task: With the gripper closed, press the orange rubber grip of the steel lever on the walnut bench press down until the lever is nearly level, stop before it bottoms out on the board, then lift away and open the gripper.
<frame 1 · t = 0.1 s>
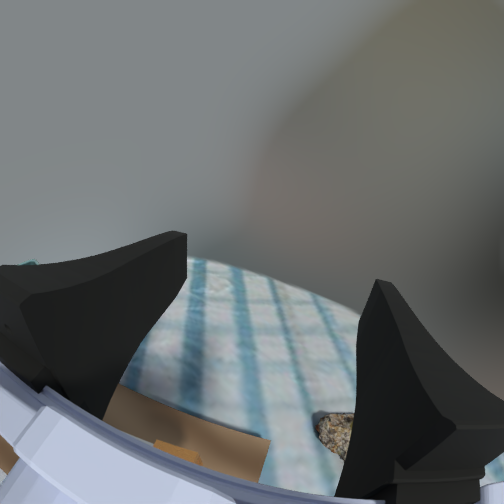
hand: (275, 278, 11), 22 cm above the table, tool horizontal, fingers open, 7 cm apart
mineral rock: (358, 444, 26), on the table
press lever: (88, 433, 17), point 6 cm above the table, hinge at 12.0°
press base: (119, 470, 19), on the table
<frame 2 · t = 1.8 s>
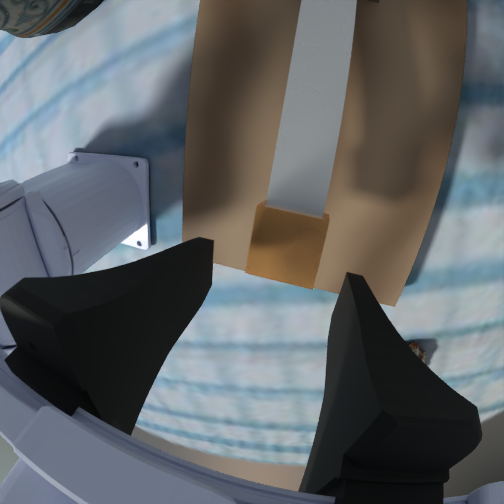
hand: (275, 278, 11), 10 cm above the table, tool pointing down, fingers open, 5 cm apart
press lever: (318, 82, 11), point 6 cm above the table, hinge at 12.0°
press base: (321, 110, 17), on the table
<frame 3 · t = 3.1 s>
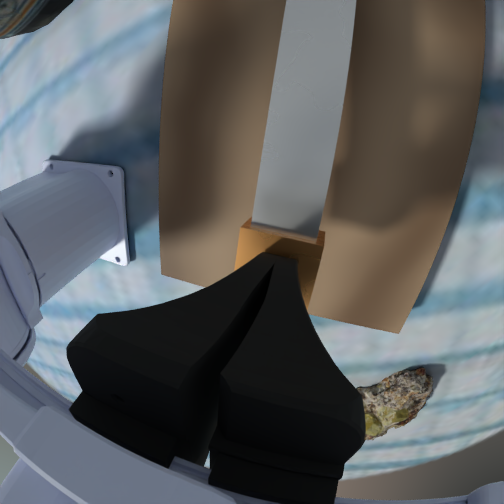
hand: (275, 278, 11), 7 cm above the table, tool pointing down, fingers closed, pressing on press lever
mineral rock: (387, 396, 23), on the table
press lever: (311, 77, 9), point 6 cm above the table, hinge at 7.4°, touching gripper
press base: (316, 109, 14), on the table
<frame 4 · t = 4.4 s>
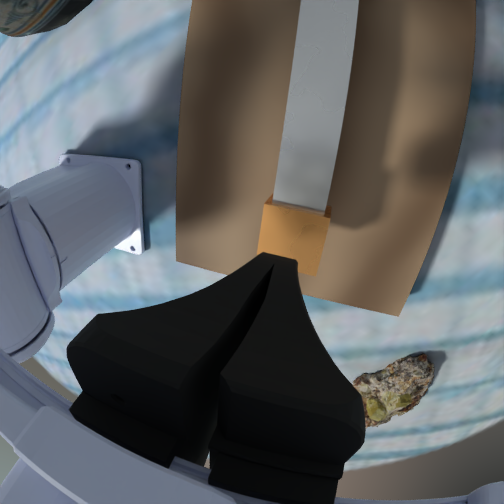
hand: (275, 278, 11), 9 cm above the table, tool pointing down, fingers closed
mineral rock: (391, 383, 25), on the table
press lever: (320, 83, 11), point 5 cm above the table, hinge at 1.8°
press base: (322, 108, 16), on the table
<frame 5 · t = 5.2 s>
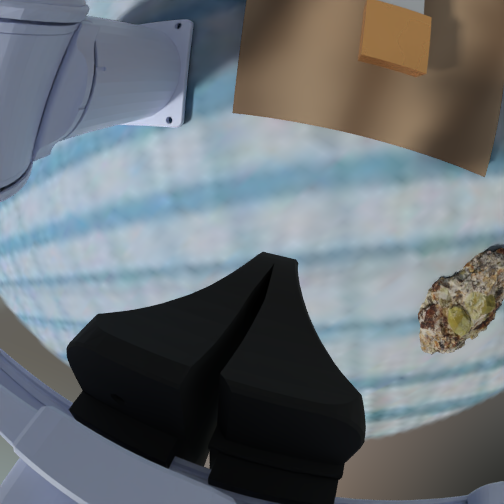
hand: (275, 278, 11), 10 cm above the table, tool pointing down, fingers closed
mineral rock: (465, 295, 20), on the table
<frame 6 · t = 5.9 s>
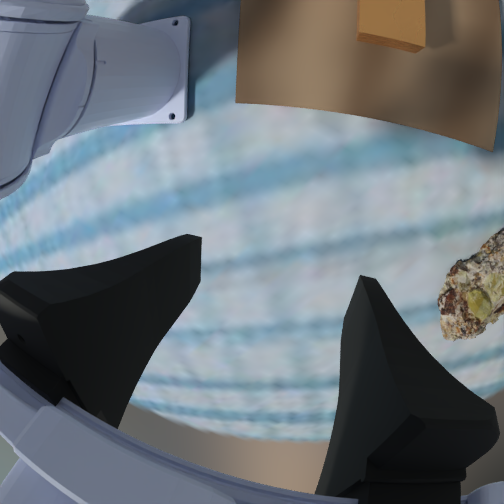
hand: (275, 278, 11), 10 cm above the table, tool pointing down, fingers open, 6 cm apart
mineral rock: (482, 278, 19), on the table
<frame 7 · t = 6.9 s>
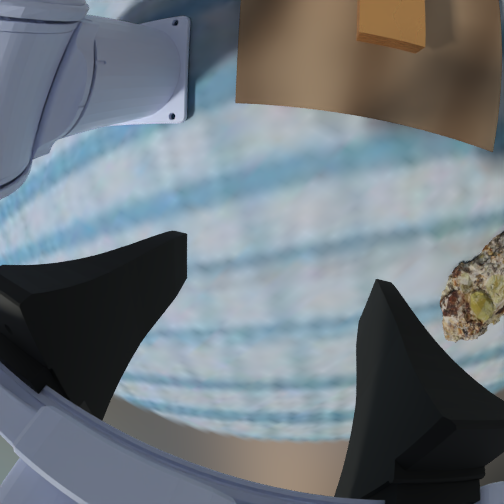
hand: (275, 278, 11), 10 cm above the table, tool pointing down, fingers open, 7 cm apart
mineral rock: (484, 279, 19), on the table
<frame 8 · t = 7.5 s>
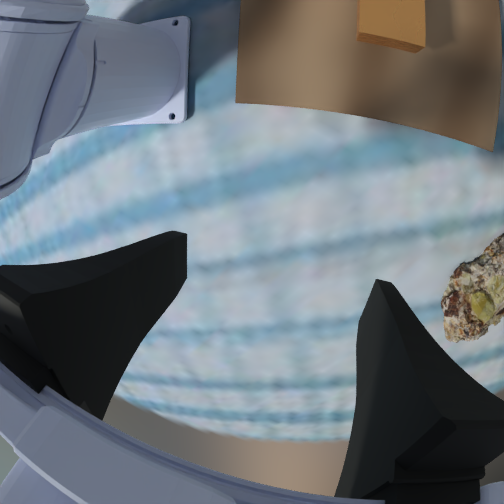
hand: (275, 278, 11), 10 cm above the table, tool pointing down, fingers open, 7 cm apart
mineral rock: (485, 280, 19), on the table
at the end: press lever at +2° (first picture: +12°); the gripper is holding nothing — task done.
